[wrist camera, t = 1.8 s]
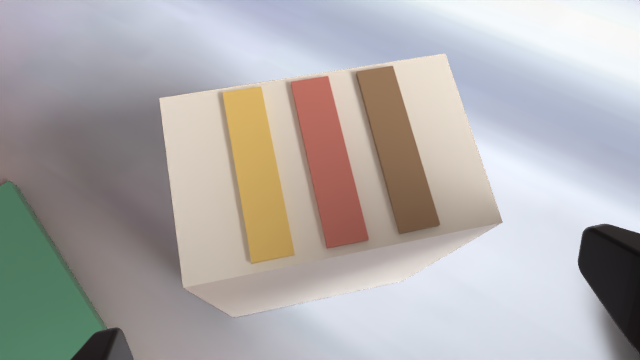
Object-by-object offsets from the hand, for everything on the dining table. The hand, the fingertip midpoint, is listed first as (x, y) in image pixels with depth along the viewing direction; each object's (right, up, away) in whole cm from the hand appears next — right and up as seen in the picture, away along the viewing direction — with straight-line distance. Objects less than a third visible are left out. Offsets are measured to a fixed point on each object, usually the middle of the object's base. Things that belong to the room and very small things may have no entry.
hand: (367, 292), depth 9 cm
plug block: (-1, -1, +11) cm, 11 cm away
